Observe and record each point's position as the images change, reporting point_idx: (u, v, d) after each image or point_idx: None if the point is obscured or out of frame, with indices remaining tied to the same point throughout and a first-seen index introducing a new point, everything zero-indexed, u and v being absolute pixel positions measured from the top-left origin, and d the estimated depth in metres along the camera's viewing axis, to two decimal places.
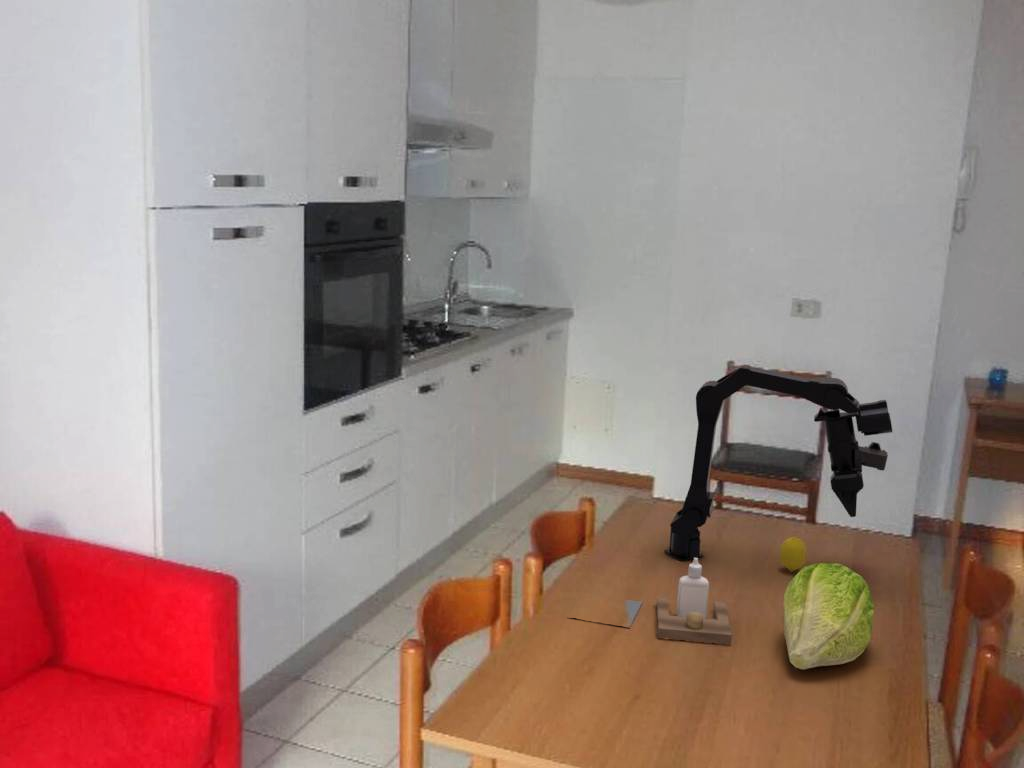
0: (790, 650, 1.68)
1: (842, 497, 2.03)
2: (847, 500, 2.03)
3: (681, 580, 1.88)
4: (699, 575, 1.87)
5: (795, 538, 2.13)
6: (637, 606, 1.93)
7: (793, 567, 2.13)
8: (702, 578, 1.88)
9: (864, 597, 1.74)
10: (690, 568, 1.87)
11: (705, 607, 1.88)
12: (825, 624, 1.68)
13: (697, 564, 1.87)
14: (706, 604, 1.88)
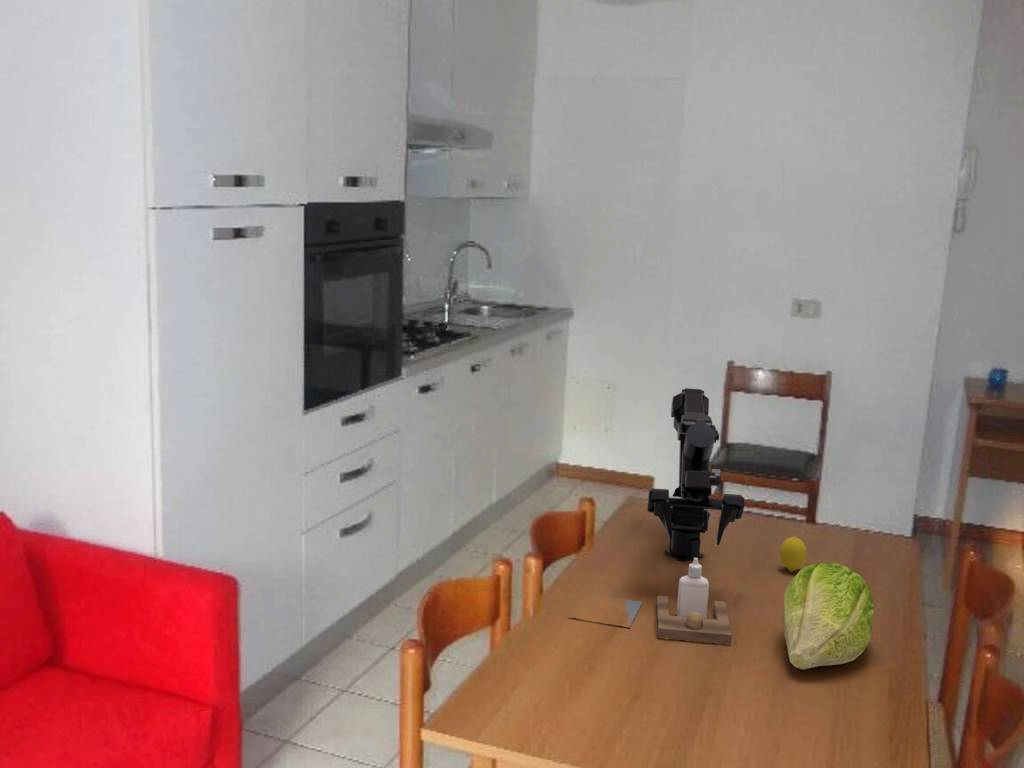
0: (790, 650, 1.68)
1: (663, 521, 1.98)
2: (665, 523, 1.97)
3: (681, 580, 1.88)
4: (699, 575, 1.87)
5: (795, 538, 2.13)
6: (637, 606, 1.93)
7: (793, 567, 2.13)
8: (702, 578, 1.88)
9: (864, 597, 1.74)
10: (690, 568, 1.87)
11: (705, 607, 1.88)
12: (826, 624, 1.68)
13: (697, 564, 1.87)
14: (706, 604, 1.88)
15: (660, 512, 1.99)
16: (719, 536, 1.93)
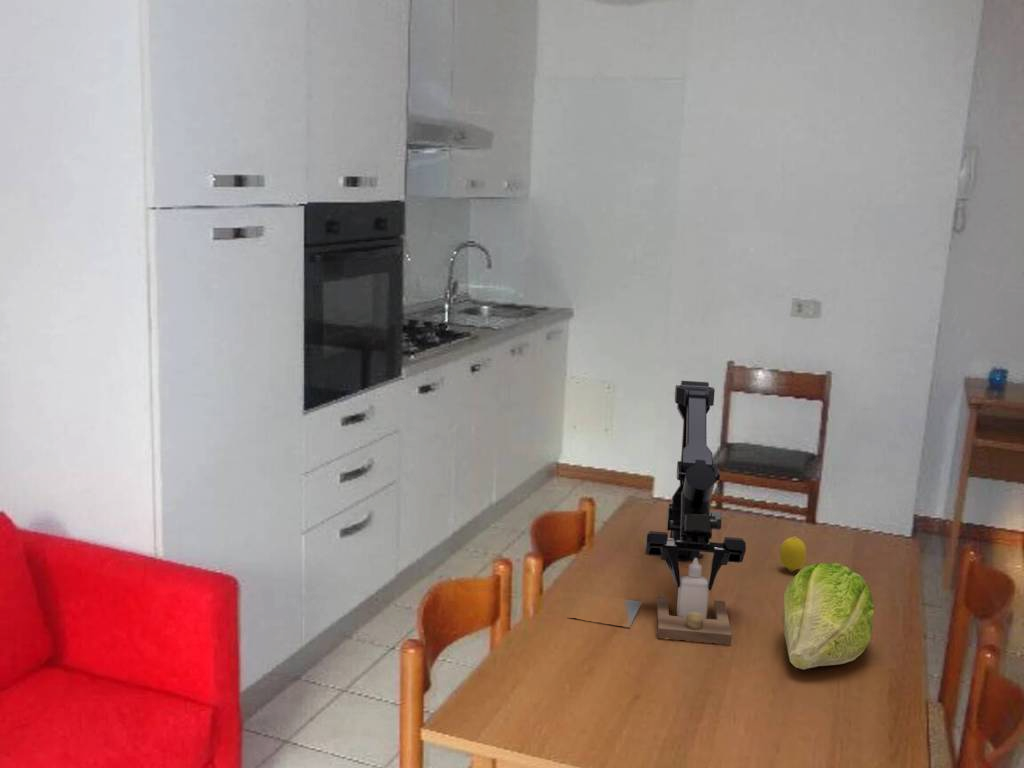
0: (790, 650, 1.68)
1: (670, 565, 1.91)
2: (672, 568, 1.90)
3: (681, 580, 1.88)
4: (699, 575, 1.87)
5: (795, 538, 2.13)
6: (637, 606, 1.93)
7: (793, 567, 2.13)
8: (702, 578, 1.88)
9: (864, 597, 1.74)
10: (690, 568, 1.87)
11: (705, 607, 1.88)
12: (826, 624, 1.68)
13: (697, 564, 1.87)
14: (706, 604, 1.88)
15: (667, 556, 1.92)
16: (711, 581, 1.87)
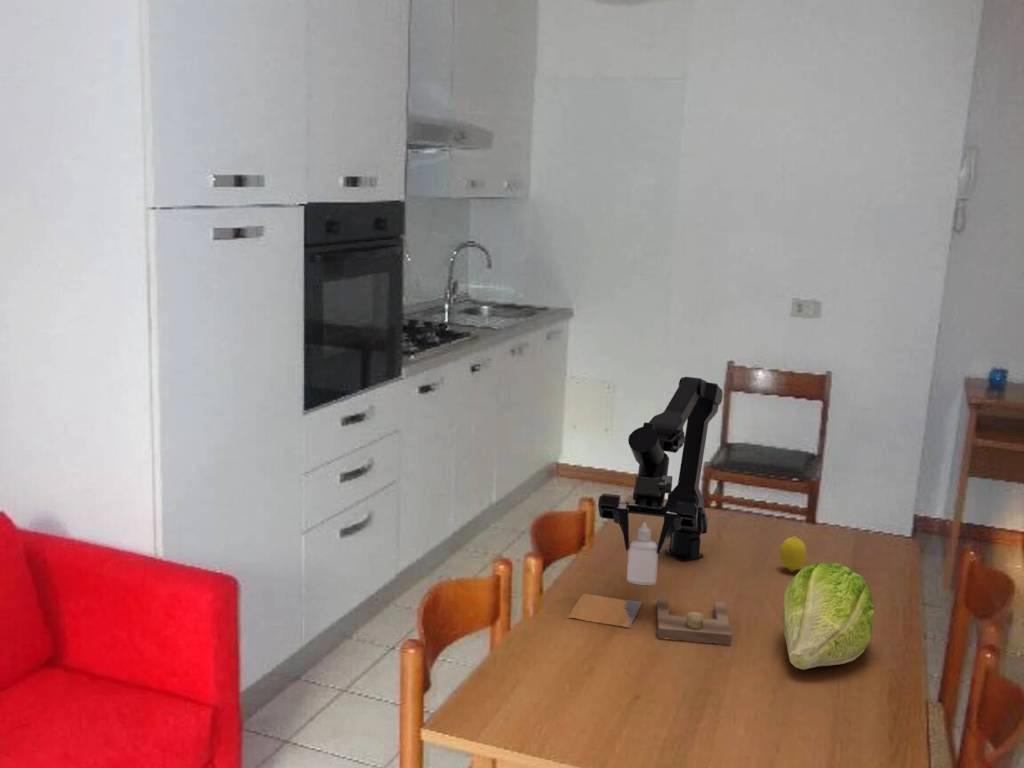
0: (790, 650, 1.68)
1: (622, 528, 1.90)
2: (623, 531, 1.89)
3: (630, 543, 1.87)
4: (648, 539, 1.85)
5: (795, 538, 2.13)
6: (637, 606, 1.93)
7: (793, 567, 2.13)
8: (651, 542, 1.86)
9: (864, 597, 1.74)
10: (639, 531, 1.86)
11: (654, 571, 1.86)
12: (825, 624, 1.68)
13: (646, 527, 1.86)
14: (655, 568, 1.86)
15: (620, 519, 1.91)
16: (659, 545, 1.85)
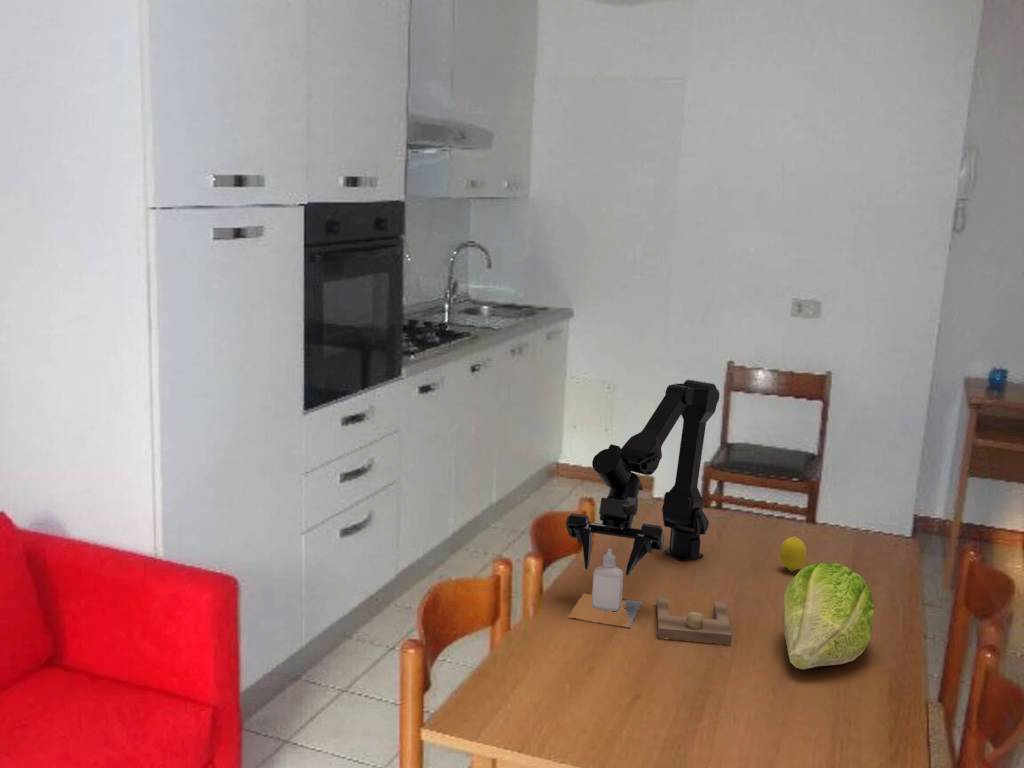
0: (790, 650, 1.68)
1: None
2: None
3: (595, 569, 1.90)
4: (612, 565, 1.89)
5: (795, 538, 2.13)
6: (637, 606, 1.93)
7: (793, 567, 2.13)
8: (616, 569, 1.89)
9: (864, 597, 1.74)
10: (604, 557, 1.89)
11: (618, 598, 1.89)
12: (825, 624, 1.68)
13: (610, 554, 1.89)
14: (619, 595, 1.89)
15: None
16: (628, 566, 1.87)
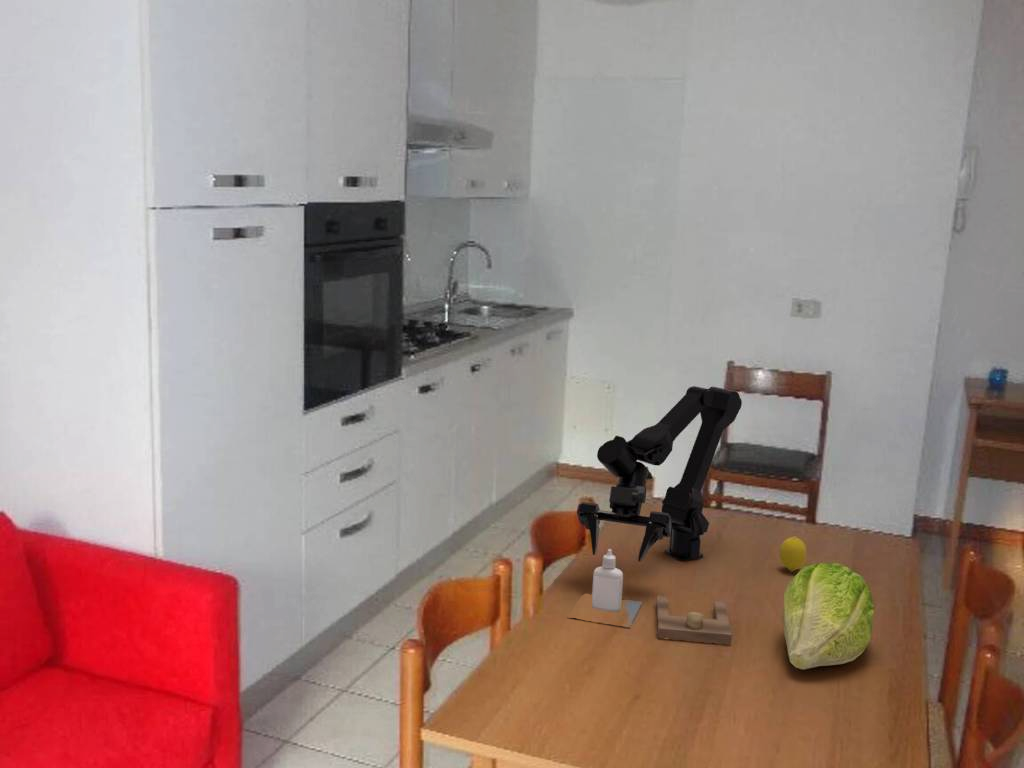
0: (790, 650, 1.68)
1: None
2: None
3: (595, 570, 1.90)
4: (612, 566, 1.88)
5: (795, 538, 2.13)
6: (637, 606, 1.93)
7: (793, 567, 2.13)
8: (615, 570, 1.89)
9: (864, 597, 1.74)
10: (603, 559, 1.89)
11: (618, 599, 1.89)
12: (825, 624, 1.68)
13: (610, 555, 1.89)
14: (619, 596, 1.89)
15: None
16: (640, 553, 1.95)
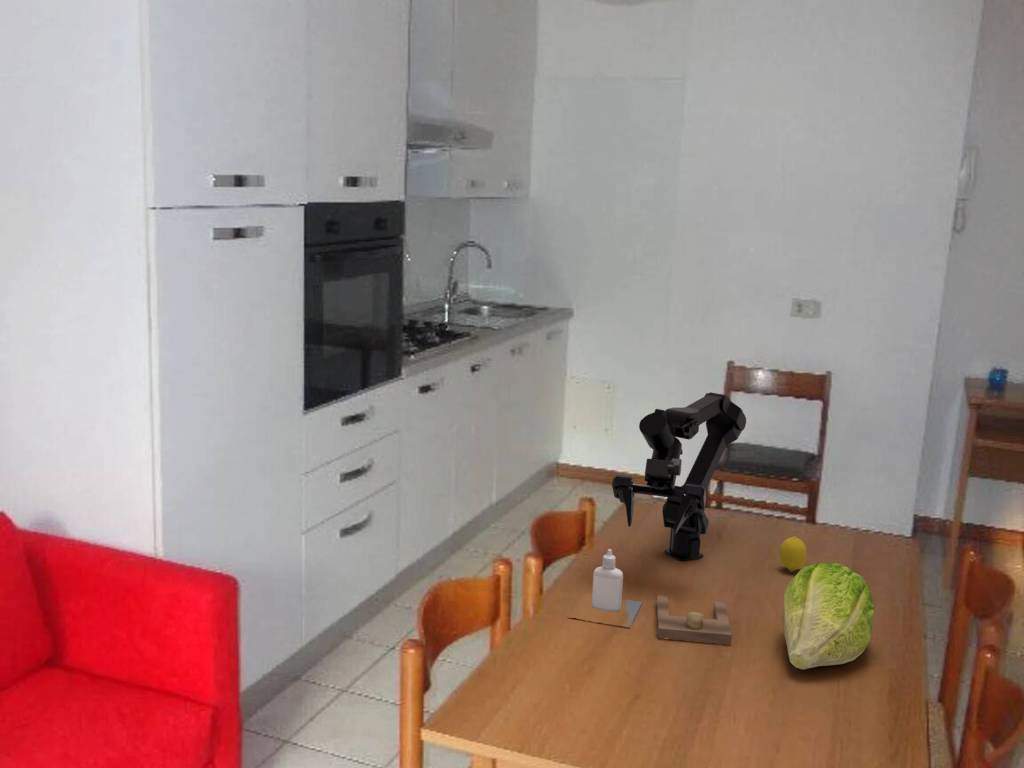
0: (790, 650, 1.68)
1: None
2: None
3: (595, 570, 1.90)
4: (612, 566, 1.88)
5: (795, 538, 2.13)
6: (637, 606, 1.93)
7: (793, 567, 2.13)
8: (615, 570, 1.89)
9: (864, 597, 1.74)
10: (603, 559, 1.89)
11: (618, 599, 1.89)
12: (825, 624, 1.68)
13: (610, 555, 1.89)
14: (619, 596, 1.89)
15: None
16: (676, 524, 1.96)
